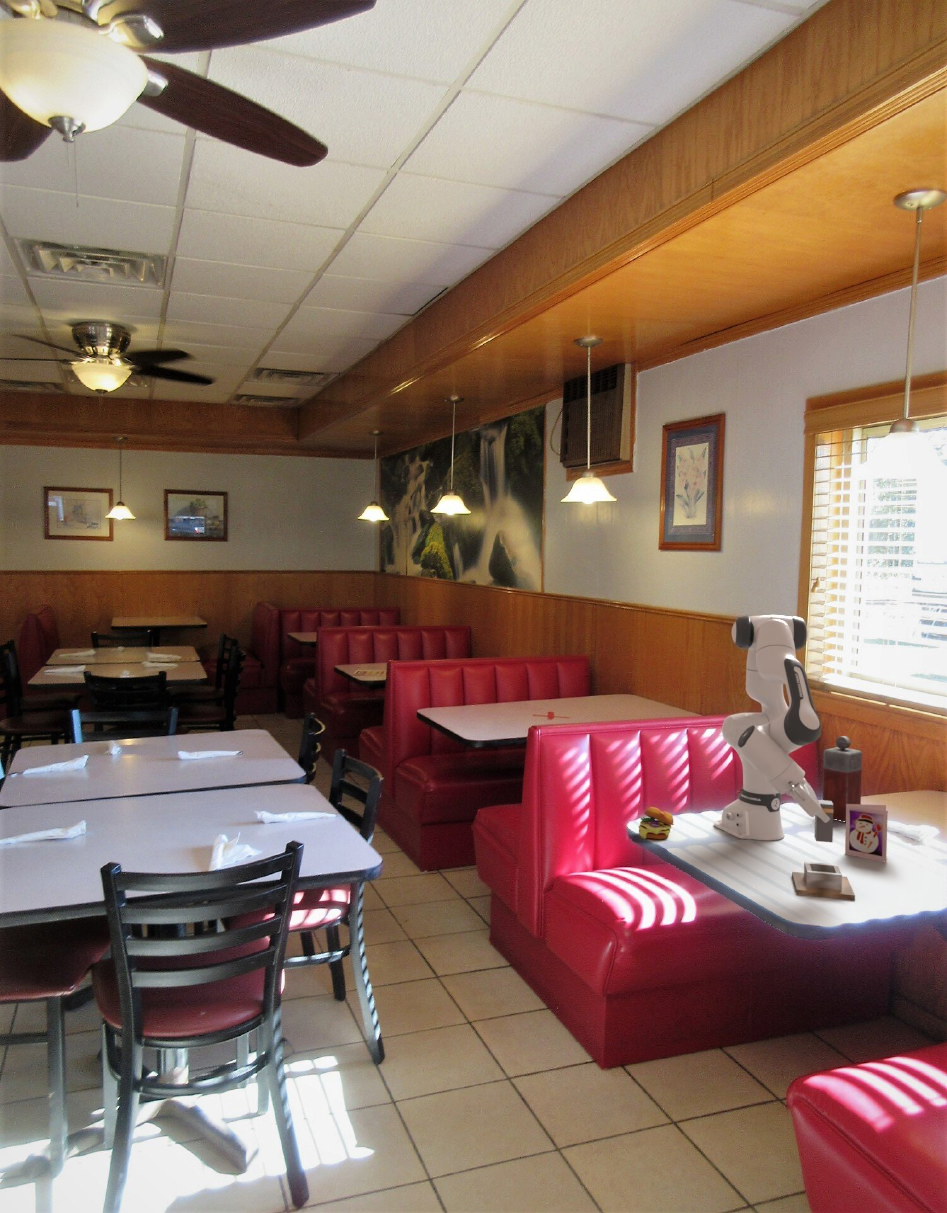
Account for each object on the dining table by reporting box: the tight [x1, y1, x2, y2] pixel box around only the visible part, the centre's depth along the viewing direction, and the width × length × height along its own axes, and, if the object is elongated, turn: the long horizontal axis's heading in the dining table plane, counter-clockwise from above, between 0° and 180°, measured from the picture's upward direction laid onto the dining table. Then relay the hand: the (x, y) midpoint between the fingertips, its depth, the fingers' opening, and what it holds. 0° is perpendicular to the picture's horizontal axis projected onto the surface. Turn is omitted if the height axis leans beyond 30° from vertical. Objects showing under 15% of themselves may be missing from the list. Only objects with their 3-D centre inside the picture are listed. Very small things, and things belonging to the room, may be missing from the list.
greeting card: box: [844, 803, 888, 863], centre depth 257 cm, size 11×7×15 cm, turn 51°
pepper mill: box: [822, 735, 863, 822], centre depth 297 cm, size 9×11×28 cm
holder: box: [791, 861, 856, 901], centre depth 231 cm, size 14×14×5 cm
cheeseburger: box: [638, 806, 675, 840], centre depth 276 cm, size 10×11×10 cm
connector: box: [813, 799, 834, 843], centre depth 231 cm, size 4×4×10 cm
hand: (826, 817), depth 230 cm, fingers closed on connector, 4 cm apart
